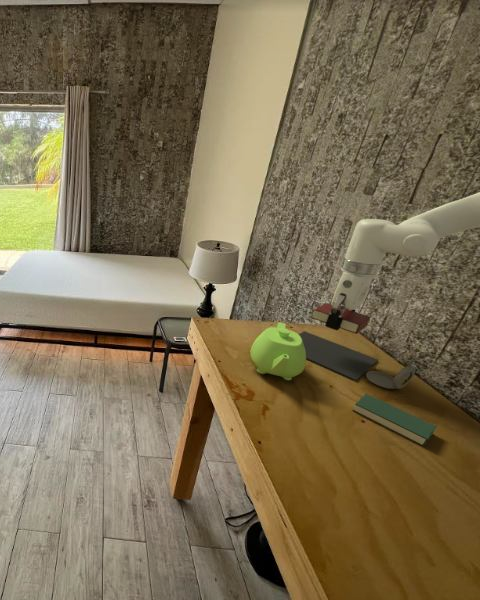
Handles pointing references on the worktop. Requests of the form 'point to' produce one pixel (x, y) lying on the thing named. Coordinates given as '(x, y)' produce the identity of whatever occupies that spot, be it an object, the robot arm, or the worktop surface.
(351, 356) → the felt mat
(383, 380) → the pocket watch
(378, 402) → the bottom book
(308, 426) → the worktop surface
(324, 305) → the top book
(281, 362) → the teapot
